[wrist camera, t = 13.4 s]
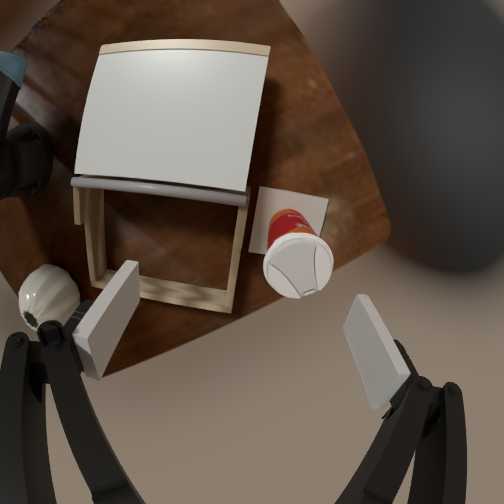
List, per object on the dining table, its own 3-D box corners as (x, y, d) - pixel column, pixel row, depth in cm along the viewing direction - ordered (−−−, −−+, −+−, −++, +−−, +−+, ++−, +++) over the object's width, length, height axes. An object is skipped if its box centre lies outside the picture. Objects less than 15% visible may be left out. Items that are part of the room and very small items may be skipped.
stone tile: (248, 250, 47) (248, 251, 46) (259, 185, 42) (259, 186, 42) (311, 260, 47) (312, 261, 47) (327, 198, 43) (328, 199, 42)
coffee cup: (319, 238, 45) (344, 287, 32) (273, 257, 47) (279, 311, 33) (301, 192, 42) (322, 224, 28) (253, 213, 44) (250, 253, 30)
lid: (88, 180, 38) (70, 187, 33) (103, 47, 29) (87, 40, 24) (246, 198, 39) (244, 208, 34) (272, 49, 30) (274, 37, 25)
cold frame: (102, 273, 50) (83, 294, 42) (98, 169, 41) (73, 178, 34) (233, 297, 51) (229, 324, 44) (251, 186, 42) (249, 198, 35)
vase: (37, 253, 48) (0, 282, 36) (83, 264, 49) (47, 300, 37) (48, 303, 54) (19, 336, 42) (91, 317, 55) (64, 356, 42)
